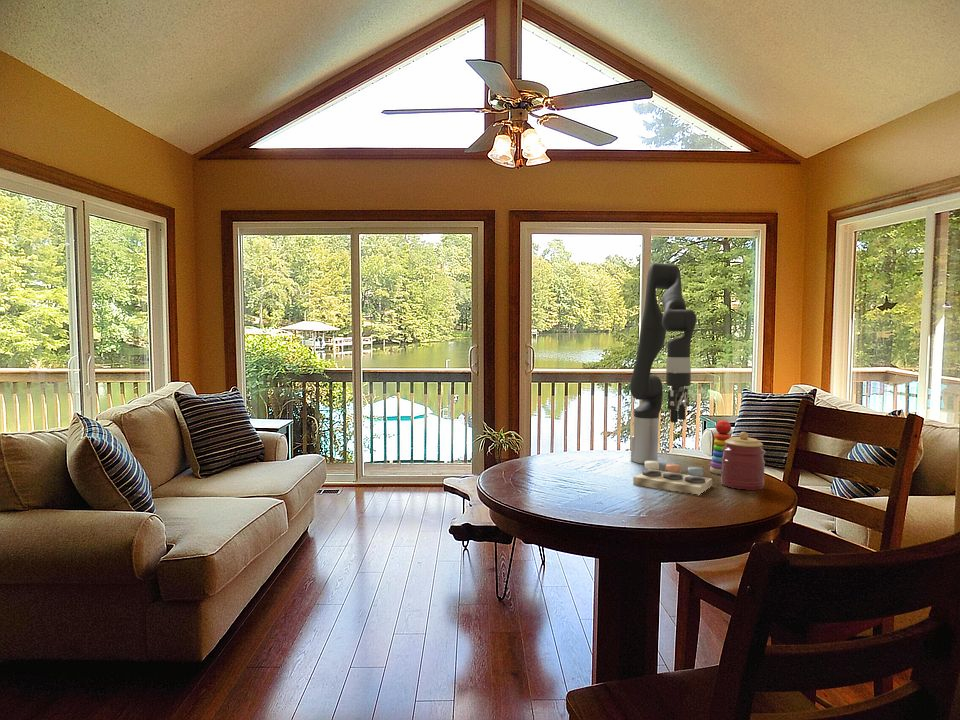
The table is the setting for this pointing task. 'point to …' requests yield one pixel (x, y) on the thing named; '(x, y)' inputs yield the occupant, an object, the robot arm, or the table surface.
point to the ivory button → (652, 465)
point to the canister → (743, 463)
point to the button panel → (672, 481)
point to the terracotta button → (673, 468)
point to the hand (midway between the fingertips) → (677, 421)
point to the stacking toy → (719, 445)
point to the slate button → (695, 471)
